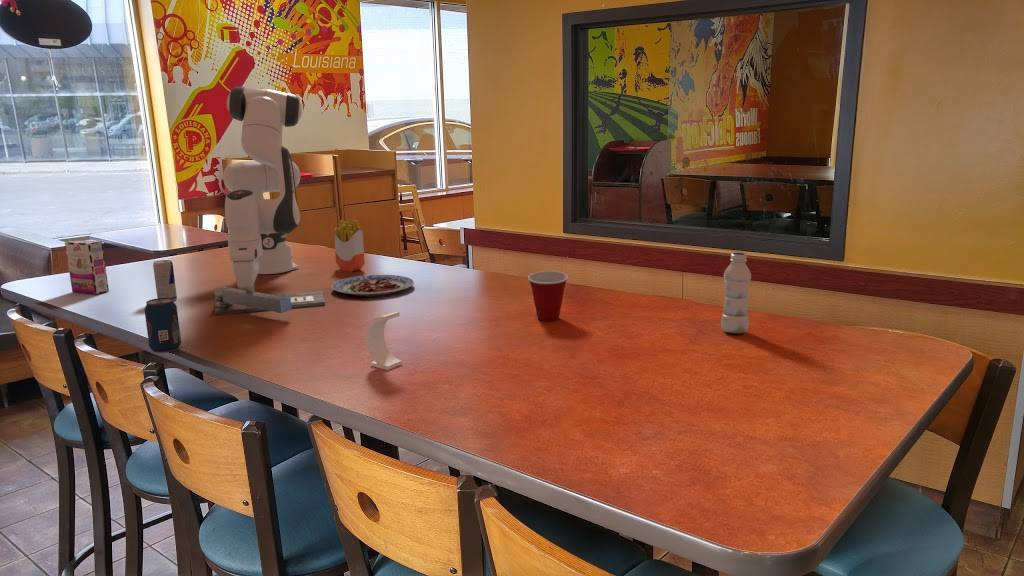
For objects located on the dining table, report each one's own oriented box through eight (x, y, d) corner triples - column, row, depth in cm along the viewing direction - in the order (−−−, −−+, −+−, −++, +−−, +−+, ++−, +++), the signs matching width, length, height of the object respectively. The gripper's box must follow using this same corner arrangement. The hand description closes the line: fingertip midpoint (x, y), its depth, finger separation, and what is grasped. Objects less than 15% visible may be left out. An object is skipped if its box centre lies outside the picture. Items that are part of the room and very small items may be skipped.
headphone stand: (387, 370, 156) (384, 317, 153) (367, 365, 160) (364, 312, 157) (402, 364, 160) (399, 312, 157) (382, 359, 163) (379, 308, 160)
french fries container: (355, 272, 254) (351, 222, 249) (335, 269, 260) (332, 219, 256) (365, 270, 257) (362, 220, 253) (345, 267, 264) (342, 218, 260)
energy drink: (180, 298, 221) (175, 259, 218) (170, 302, 216) (166, 263, 213) (164, 298, 221) (159, 259, 219) (154, 302, 216) (148, 263, 213)
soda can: (150, 347, 174) (144, 299, 171) (182, 343, 177) (176, 295, 174) (149, 355, 168) (142, 305, 165) (181, 351, 170) (175, 302, 168)
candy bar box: (110, 291, 231) (103, 241, 227) (96, 295, 226) (88, 243, 222) (85, 288, 235) (77, 239, 231) (71, 292, 230) (63, 241, 227)
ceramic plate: (406, 278, 245) (406, 269, 245) (421, 295, 221) (421, 286, 221) (328, 284, 237) (328, 276, 237) (335, 303, 214) (335, 293, 213)
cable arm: (224, 297, 211) (223, 285, 210) (292, 309, 196) (291, 297, 196) (211, 300, 208) (210, 288, 207) (280, 313, 193) (278, 300, 192)
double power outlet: (216, 303, 215) (215, 295, 214) (322, 294, 224) (321, 287, 223) (213, 315, 202) (212, 307, 201) (325, 305, 211) (324, 297, 210)
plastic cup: (522, 322, 191) (521, 278, 188) (535, 311, 201) (535, 269, 198) (561, 325, 187) (561, 280, 185) (572, 315, 197) (573, 272, 194)
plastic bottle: (734, 338, 175) (739, 257, 171) (714, 331, 181) (719, 252, 177) (753, 334, 178) (759, 254, 174) (733, 327, 184) (738, 250, 180)
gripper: (238, 242, 212) (243, 288, 215) (228, 256, 192) (234, 306, 196) (261, 241, 213) (266, 286, 217) (253, 255, 194) (258, 304, 197)
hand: (250, 296), depth 206 cm, fingers closed
